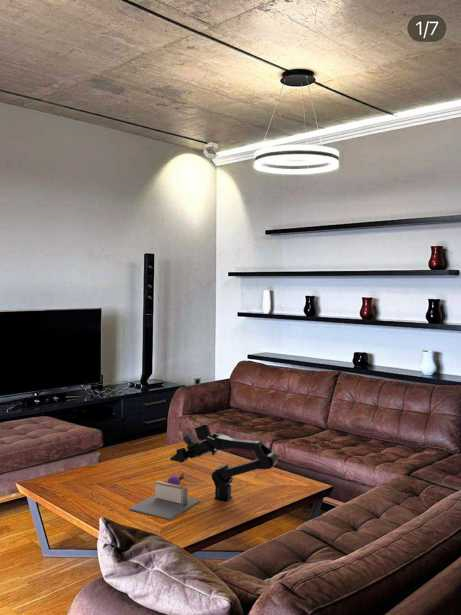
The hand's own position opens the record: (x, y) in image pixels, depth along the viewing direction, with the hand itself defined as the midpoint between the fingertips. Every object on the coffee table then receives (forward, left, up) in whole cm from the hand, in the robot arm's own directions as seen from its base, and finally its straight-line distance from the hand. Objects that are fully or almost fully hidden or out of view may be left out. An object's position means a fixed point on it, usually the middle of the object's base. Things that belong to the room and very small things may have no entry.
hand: (175, 457), depth 284 cm
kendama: (+5, -9, -16) cm, 19 cm away
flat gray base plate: (-7, +18, -16) cm, 25 cm away
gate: (-6, +14, -15) cm, 21 cm away
